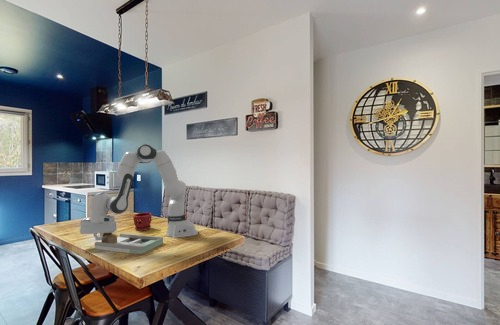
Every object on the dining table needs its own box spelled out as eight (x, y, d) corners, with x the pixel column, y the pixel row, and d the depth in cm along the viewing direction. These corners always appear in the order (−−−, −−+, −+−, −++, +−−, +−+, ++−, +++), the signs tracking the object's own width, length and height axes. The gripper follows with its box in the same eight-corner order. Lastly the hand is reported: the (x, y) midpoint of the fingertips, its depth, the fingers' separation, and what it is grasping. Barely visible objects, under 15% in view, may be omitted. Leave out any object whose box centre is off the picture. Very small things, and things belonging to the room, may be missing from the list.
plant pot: (136, 227, 201) (136, 212, 201) (153, 226, 202) (153, 212, 202) (130, 231, 188) (130, 216, 188) (148, 231, 189) (148, 215, 189)
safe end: (129, 252, 143) (129, 246, 143) (152, 242, 162) (152, 236, 162) (141, 254, 140) (141, 248, 140) (163, 243, 159) (162, 237, 159)
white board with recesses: (94, 248, 150) (94, 242, 150) (120, 239, 169) (120, 233, 169) (141, 254, 140) (141, 247, 140) (163, 243, 159) (162, 237, 159)
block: (101, 244, 152) (101, 238, 152) (109, 241, 157) (109, 235, 157) (109, 245, 150) (109, 238, 150) (117, 242, 156) (117, 236, 156)
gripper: (77, 220, 151) (77, 242, 151) (114, 218, 155) (114, 240, 155) (82, 218, 157) (82, 239, 157) (117, 216, 161) (117, 237, 161)
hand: (98, 240), depth 156 cm, fingers closed
